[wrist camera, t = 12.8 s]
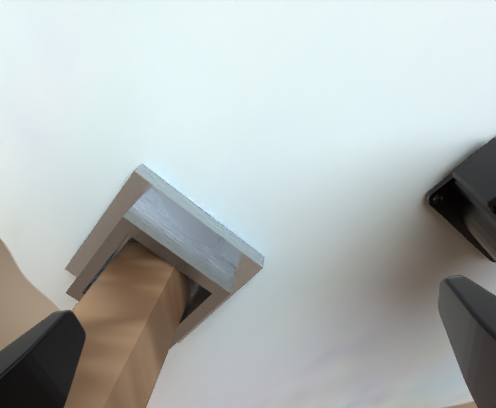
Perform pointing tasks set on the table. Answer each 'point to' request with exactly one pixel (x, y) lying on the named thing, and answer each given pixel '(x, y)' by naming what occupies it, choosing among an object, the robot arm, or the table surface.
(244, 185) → the table surface
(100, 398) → the walnut post
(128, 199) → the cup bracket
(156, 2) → the table surface
